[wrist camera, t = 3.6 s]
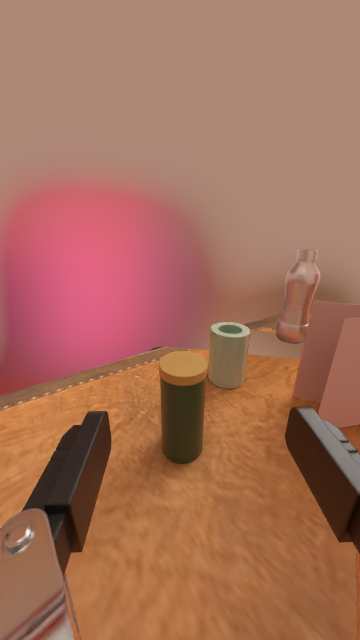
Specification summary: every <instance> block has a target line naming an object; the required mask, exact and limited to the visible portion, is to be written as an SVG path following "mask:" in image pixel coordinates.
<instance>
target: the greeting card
mask: <svg viewBox="0 0 360 640" xmlns="http://www.w3.org/2000/svg"><path fill="white" fill-rule="evenodd" d="M293 397H297V398H301V399H305V400H309V401H314V402H318V403H321V404H320V407H319V411H318V415H319V416H320V418H321V419H322V420H327V421H329V422H330V423H331V424H333V425H334V426H335V427H337V428H338V429H339V428H344V427H350V426H355V425H360V305H354V304H344V303H335V302H324V301H315V300H314V302H313V306H312V311H311V315H310V320H309V324H308V329H307V333H306V338H305V342H304V347H303V351H302V356H301V360H300V365H299V369H298V374H297V378H296V383H295V387H294V392H293Z"/></svg>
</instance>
